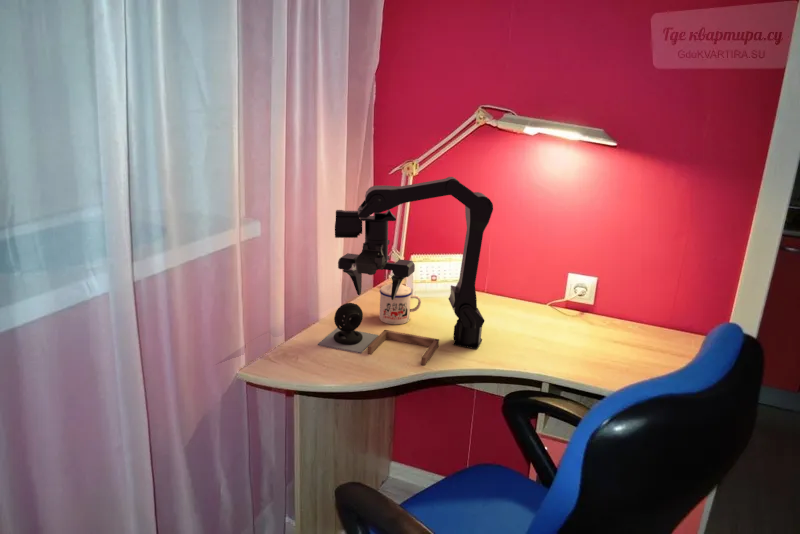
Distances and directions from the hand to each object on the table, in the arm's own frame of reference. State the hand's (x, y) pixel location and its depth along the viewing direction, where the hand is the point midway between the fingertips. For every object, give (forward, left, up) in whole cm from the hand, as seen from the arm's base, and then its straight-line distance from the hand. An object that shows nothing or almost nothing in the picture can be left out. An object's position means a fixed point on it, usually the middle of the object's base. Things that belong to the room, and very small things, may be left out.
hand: (375, 297), depth 152 cm
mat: (+6, +2, -12) cm, 14 cm away
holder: (-9, +2, -12) cm, 15 cm away
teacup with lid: (-1, -18, -13) cm, 22 cm away
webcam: (+6, +2, -12) cm, 14 cm away
